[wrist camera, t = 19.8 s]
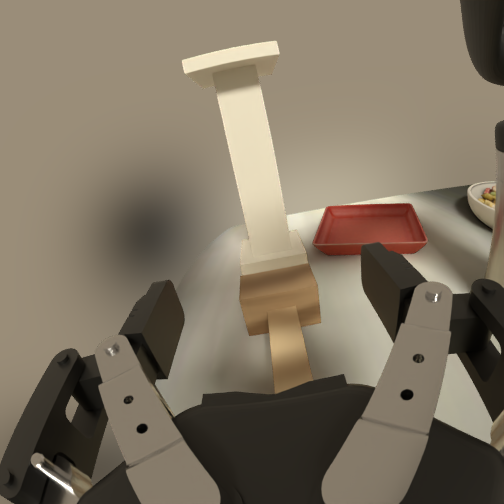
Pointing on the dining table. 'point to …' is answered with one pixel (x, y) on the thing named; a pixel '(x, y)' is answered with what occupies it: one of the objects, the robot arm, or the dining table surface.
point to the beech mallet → (282, 318)
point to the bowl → (483, 201)
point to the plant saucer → (369, 229)
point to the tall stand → (251, 151)
